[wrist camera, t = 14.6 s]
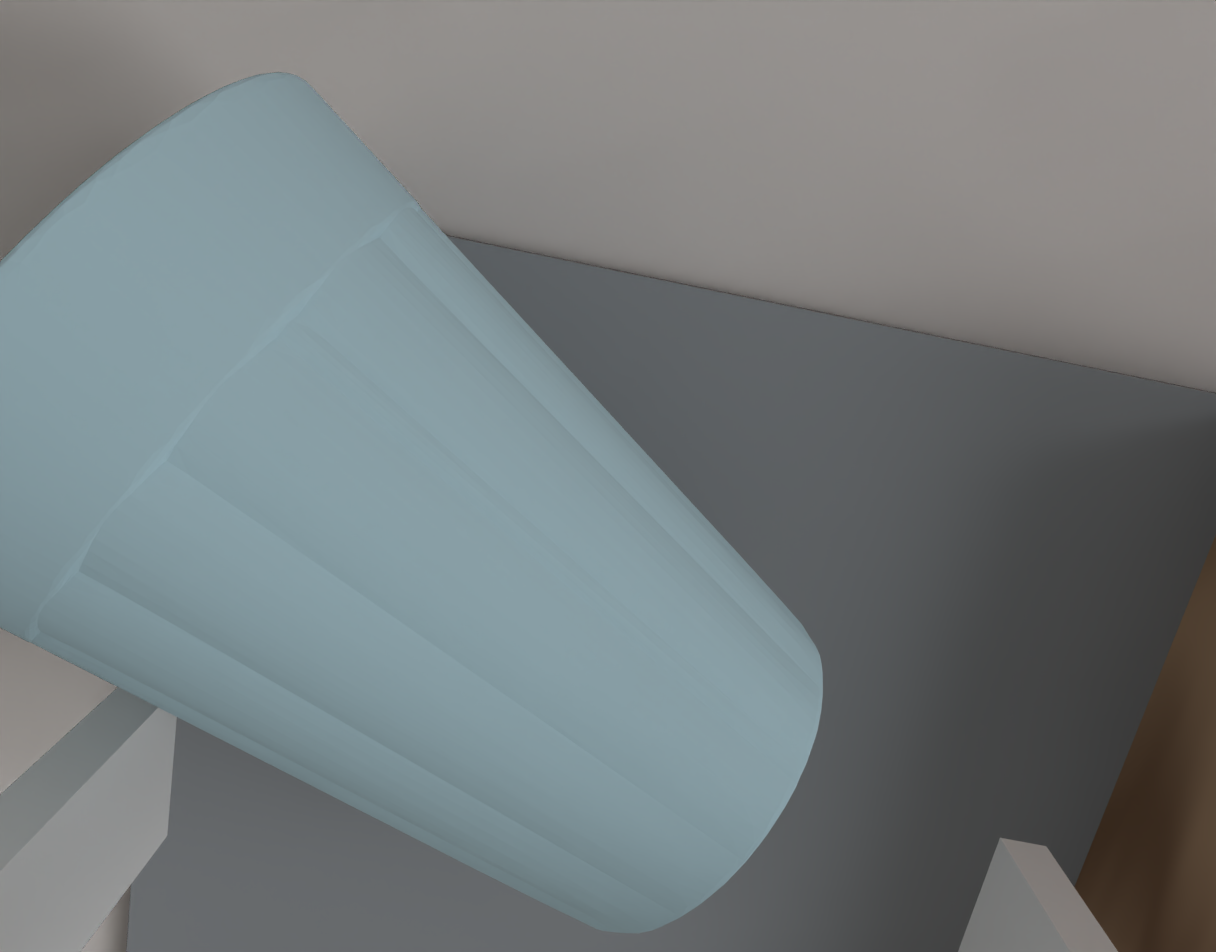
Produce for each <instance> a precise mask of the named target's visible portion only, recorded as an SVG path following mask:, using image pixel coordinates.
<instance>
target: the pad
mask: <svg viewBox="0 0 1216 952" xmlns="http://www.w3.org/2000/svg"><path fill="white" fill-rule="evenodd" d="M446 236H447V237H448V238H449V239H450V240H451V242H452V243H453V244H454V245H455V246H456V247H457V248H458V249H459V250H460V251H461V252H462V253H463V255H464V256H465V257H466V258H467V259H468V260H469V261H470V262H471V263H472V264H473V265H474V267H475V268H476V269H477V270H478V271H479V272H480V273H481V274H482V275H483V276H484V277H485V279H486V280H487V281H488V282H489V283H490V284H491V285H492V286H493V287H494V288H495V289H496V290H497V292H498V293H499V294H500V295H501V296H502V297H503V298H504V299H505V300H506V301H507V302H508V304H509V305H510V306H511V307H512V308H513V309H514V310H515V311H516V312H517V313H518V314H519V315H520V317H521V318H522V319H523V320H524V321H525V322H526V323H527V324H528V325H529V326H530V327H531V329H532V330H533V331H534V332H535V333H536V334H537V335H538V336H539V337H540V338H541V339H542V341H543V342H544V343H545V344H546V345H547V346H548V347H549V348H550V349H551V350H552V351H553V352H554V354H555V355H556V356H557V357H558V358H559V359H560V360H561V361H562V362H563V363H564V364H565V366H566V367H567V368H568V369H569V370H570V371H571V372H572V373H573V374H574V375H575V376H576V377H577V379H578V380H579V381H580V382H581V383H582V384H583V385H584V386H585V387H586V388H587V389H588V391H589V392H590V393H591V394H592V395H593V396H594V397H595V398H596V399H597V400H598V401H599V403H600V404H601V405H602V406H603V407H604V408H605V409H606V410H607V411H608V412H609V413H610V414H611V416H612V417H613V418H614V419H615V420H616V421H617V422H618V423H619V424H620V425H621V426H622V428H623V429H624V430H625V431H626V432H627V433H628V434H629V435H630V436H631V437H632V438H633V439H634V441H635V442H636V443H637V444H638V445H639V446H640V447H641V448H642V449H643V450H644V451H645V453H646V454H647V455H648V456H649V457H650V458H651V459H652V460H653V461H654V462H655V463H656V464H657V466H658V467H659V468H660V469H661V470H662V471H663V472H664V473H665V474H666V475H667V476H668V478H669V479H670V480H671V481H672V482H673V483H674V484H675V485H676V486H677V487H678V488H679V490H680V491H681V492H682V493H683V494H684V495H685V496H686V497H687V498H688V499H689V500H690V501H691V503H692V504H693V505H694V506H695V507H696V508H697V509H698V510H699V511H700V512H701V513H702V515H703V516H704V517H705V518H706V519H707V520H708V521H709V522H710V523H711V524H712V525H713V526H714V528H715V529H716V530H717V531H718V532H719V533H720V534H721V535H722V536H723V537H724V538H725V540H726V541H727V542H728V543H729V544H730V545H731V546H732V547H733V548H734V549H735V550H736V552H737V553H738V554H739V555H740V556H741V557H742V558H743V559H744V560H745V561H746V562H747V564H748V565H749V566H750V567H751V568H752V569H753V570H754V571H755V572H756V574H757V575H758V576H759V577H760V578H761V579H762V580H763V581H764V582H765V583H766V585H767V586H768V587H769V588H770V589H771V590H772V591H773V592H774V593H775V594H776V596H777V597H778V598H779V599H780V600H781V601H782V602H783V603H784V604H785V606H786V607H787V608H788V609H789V610H790V611H791V612H792V613H793V615H794V616H795V617H796V618H797V619H798V620H799V621H800V623H801V624H802V625H803V627H804V628H805V630H806V632H807V633H808V635H809V637H810V638H811V640H812V641H813V643H814V644H815V646H816V648H817V650H818V652H819V654H820V658H821V664H822V672H823V698H822V708H821V715H820V720H819V725H818V730H817V734H816V737H815V740H814V743H813V746H812V749H811V752H810V755H809V758H808V761H807V763H806V766H805V768H804V770H803V772H802V774H801V776H800V779H799V781H798V784H797V786H796V788H795V790H794V792H793V794H792V795H791V797H790V799H789V801H788V803H787V804H786V806H785V808H784V810H783V811H782V813H781V814H780V816H779V817H778V819H777V821H776V822H775V824H774V825H773V827H772V828H771V830H770V831H769V833H768V834H767V835H766V837H765V838H764V840H763V841H762V842H761V844H760V845H759V846H758V847H757V849H756V850H755V851H754V852H753V854H752V855H751V856H750V857H749V859H748V860H747V861H746V862H745V863H744V864H743V865H742V866H741V868H740V869H739V870H738V871H737V872H736V873H735V874H734V875H733V876H732V877H731V878H730V879H729V880H728V881H727V882H726V883H725V884H724V885H723V886H722V887H721V888H719V889H718V890H717V891H716V892H715V893H713V894H712V895H711V896H710V897H709V898H707V899H706V900H705V901H704V902H703V903H701V904H700V905H698V906H697V907H695V908H694V909H692V910H691V911H689V912H688V913H686V914H685V915H683V916H682V917H680V918H678V919H676V920H674V921H672V922H670V923H668V924H666V925H664V926H662V927H659V928H657V929H654V930H652V931H647V932H642V933H616V932H608V931H602V930H598V929H595V928H593V927H591V926H589V925H587V924H585V923H583V922H581V921H579V920H577V919H575V918H573V917H571V916H569V915H566V914H564V913H562V912H560V911H558V910H556V909H554V908H552V907H550V906H548V905H546V904H544V903H542V902H540V901H538V900H536V899H534V898H532V897H530V896H528V895H526V894H524V893H522V892H520V891H518V890H516V889H514V888H512V887H510V886H508V885H506V884H504V883H502V882H500V881H498V880H496V879H494V878H492V877H490V876H488V875H486V874H484V873H482V872H480V871H478V870H476V869H474V868H472V867H470V866H468V865H466V864H464V863H462V862H460V861H458V860H456V859H454V858H452V857H450V856H448V855H446V854H444V853H442V852H441V851H439V850H437V849H435V848H433V847H431V846H429V845H427V844H425V843H423V842H421V841H419V840H417V839H415V838H413V837H411V836H409V835H407V834H405V833H403V832H401V831H399V830H397V829H395V828H393V827H392V826H390V825H388V824H386V823H384V822H382V821H380V820H378V819H376V818H374V817H372V816H370V815H368V814H366V813H364V812H362V811H360V810H358V809H356V808H354V807H352V806H350V805H348V804H346V803H344V802H343V801H341V800H339V799H337V798H335V797H333V796H331V795H329V794H327V793H325V792H323V791H321V790H319V789H317V788H315V787H313V786H311V785H309V784H307V783H305V782H303V781H301V780H299V779H297V778H295V777H294V776H292V775H290V774H288V773H286V772H284V771H282V770H280V769H278V768H276V767H274V766H272V765H270V764H268V763H266V762H264V761H262V760H260V759H258V758H256V757H254V756H252V755H250V754H248V753H246V752H245V751H243V750H241V749H239V748H237V747H235V746H233V745H231V744H229V743H227V742H225V741H223V740H221V739H219V738H217V737H215V736H213V735H211V734H209V733H207V732H205V731H203V730H201V729H199V728H197V727H196V726H194V725H192V724H190V723H188V722H186V721H184V720H182V719H180V718H178V717H177V720H176V733H175V746H174V758H173V771H172V783H171V796H170V808H169V821H168V833H167V837H166V838H165V840H164V841H163V842H162V844H161V845H160V846H159V848H158V849H157V850H156V852H155V853H154V854H153V856H152V857H151V858H150V860H149V861H148V862H147V864H146V865H145V866H144V868H143V869H142V870H141V872H140V873H139V874H138V876H137V877H136V878H135V880H134V881H133V882H132V884H131V892H130V907H129V921H128V936H127V950H126V952H958V950H959V947H960V945H961V942H962V939H963V937H964V934H965V931H966V928H967V926H968V923H969V920H970V918H971V915H972V912H973V909H974V907H975V904H976V901H977V899H978V896H979V893H980V891H981V888H982V885H983V882H984V880H985V877H986V874H987V872H988V869H989V866H990V863H991V861H992V858H993V855H994V853H995V850H996V847H997V845H998V842H999V839H1000V838H1004V839H1010V840H1015V841H1021V842H1026V843H1031V844H1037V845H1042V846H1046V847H1047V848H1048V850H1049V851H1050V852H1051V854H1052V855H1053V857H1054V858H1055V860H1056V861H1057V863H1058V864H1059V866H1060V867H1061V869H1062V870H1063V872H1064V873H1065V874H1066V876H1067V877H1068V879H1069V880H1070V882H1071V883H1072V885H1073V886H1075V884H1076V882H1077V879H1078V877H1079V874H1080V872H1081V869H1082V867H1083V864H1084V862H1085V859H1086V857H1087V854H1088V852H1089V849H1090V847H1091V844H1092V842H1093V839H1094V837H1095V834H1096V832H1097V829H1098V827H1099V824H1100V822H1101V819H1102V817H1103V814H1104V812H1105V809H1106V807H1107V804H1108V802H1109V799H1110V797H1111V794H1112V792H1113V789H1114V787H1115V784H1116V782H1117V779H1118V777H1119V774H1120V772H1121V769H1122V767H1123V764H1124V762H1125V759H1126V757H1127V755H1128V752H1129V750H1130V747H1131V745H1132V742H1133V740H1134V737H1135V735H1136V732H1137V730H1138V727H1139V725H1140V722H1141V720H1142V717H1143V715H1144V712H1145V710H1146V707H1147V705H1148V702H1149V700H1150V697H1151V695H1152V692H1153V690H1154V687H1155V685H1156V682H1157V680H1158V677H1159V675H1160V672H1161V670H1162V667H1163V665H1164V662H1165V660H1166V657H1167V655H1168V652H1169V650H1170V647H1171V645H1172V642H1173V640H1174V637H1175V635H1176V633H1177V630H1178V628H1179V625H1180V623H1181V620H1182V618H1183V615H1184V613H1185V610H1186V608H1187V605H1188V603H1189V600H1190V598H1191V595H1192V593H1193V590H1194V588H1195V585H1196V583H1197V580H1198V578H1199V575H1200V573H1201V570H1202V568H1203V565H1204V563H1205V560H1206V558H1207V555H1208V553H1209V550H1210V548H1211V545H1212V543H1213V540H1214V538H1215V535H1216V393H1213V392H1208V391H1203V390H1199V389H1194V388H1189V387H1184V386H1179V385H1174V384H1169V383H1164V382H1159V381H1155V380H1150V379H1145V378H1140V377H1135V376H1130V375H1125V374H1120V373H1116V372H1111V371H1106V370H1101V369H1096V368H1091V367H1086V366H1081V365H1077V364H1072V363H1067V362H1062V361H1057V360H1052V359H1047V358H1042V357H1038V356H1033V355H1028V354H1023V353H1018V352H1013V351H1008V350H1003V349H999V348H994V347H989V346H984V345H979V344H974V343H969V342H964V341H960V340H955V339H950V338H945V337H940V336H935V335H930V334H925V333H921V332H916V331H911V330H906V329H901V328H896V327H891V326H886V325H882V324H877V323H872V322H867V321H862V320H857V319H852V318H847V317H843V316H838V315H833V314H828V313H823V312H818V311H813V310H808V309H804V308H799V307H794V306H789V305H784V304H779V303H774V302H769V301H765V300H760V299H755V298H750V297H745V296H740V295H735V294H730V293H726V292H721V291H716V290H711V289H706V288H701V287H696V286H691V285H687V284H682V283H677V282H672V281H667V280H662V279H657V278H652V277H648V276H643V275H638V274H633V273H628V272H623V271H618V270H613V269H609V268H604V267H599V266H594V265H589V264H584V263H579V262H574V261H570V260H565V259H560V258H555V257H550V256H545V255H540V254H535V253H531V252H526V251H521V250H516V249H511V248H506V247H501V246H496V245H491V244H487V243H482V242H477V241H472V240H467V239H462V238H457V237H452V236H448V235H446Z"/></svg>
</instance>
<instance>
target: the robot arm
mask: <svg viewBox="0 0 1216 952" xmlns="http://www.w3.org/2000/svg"><path fill="white" fill-rule="evenodd" d="M176 720H177V717H176V716H174V715H172V714H170V713H168V712H166V711H164V710H162V709H160V708H158V707H156V706H154V705H152V704H150V703H148V702H147V701H145V700H143V699H141V698H139V697H137V696H135V695H133V694H131V693H129V692H127V691H125V690H123V689H121V688H119V687H118V688H117V689H116V690H114V691H113V692H112V693H111V694H110V695H109V696H108V697H107V698H106V699H105V700H103V701H102V702H101V703H100V704H99V705H98V706H97V707H96V708H95V709H94V710H93V711H91V712H90V713H89V714H88V715H87V716H86V717H85V718H84V719H83V720H82V721H80V722H79V723H78V724H77V725H76V726H75V727H74V728H73V729H72V730H71V731H70V732H68V733H67V734H66V735H65V736H64V737H63V738H62V739H61V740H60V741H59V742H57V743H56V744H55V745H54V746H53V747H52V748H51V749H50V750H49V751H48V752H46V753H45V754H44V755H43V756H42V757H41V758H40V759H39V760H38V761H37V762H36V763H34V764H33V765H32V766H31V767H30V768H29V769H28V770H27V771H26V772H25V773H23V774H22V775H21V776H20V777H19V778H18V779H17V780H16V781H15V782H14V783H13V784H11V785H10V786H9V787H8V788H7V789H6V790H5V791H4V792H3V793H2V794H0V952H81V950H82V949H83V948H84V946H85V945H86V944H87V942H88V941H89V940H90V938H91V937H92V936H93V934H94V933H95V932H96V930H97V929H98V928H99V926H100V925H101V924H102V922H103V921H104V920H105V918H106V917H107V916H108V914H109V913H110V912H111V910H112V909H113V908H114V906H115V905H116V904H117V902H118V901H119V900H120V898H121V897H122V896H123V894H124V893H125V892H126V890H127V889H128V888H129V886H130V885H131V884H132V882H133V881H134V880H135V878H136V877H137V876H138V874H139V873H140V872H141V870H142V869H143V868H144V866H145V865H146V864H147V862H148V861H149V860H150V858H151V857H152V856H153V854H154V853H155V852H156V850H157V849H158V848H159V846H160V845H161V844H162V842H163V841H164V840H165V838H166V837H167V833H168V821H169V808H170V796H171V783H172V771H173V758H174V746H175V733H176ZM958 952H1118V951H1117V949H1116V948H1115V946H1114V945H1113V944H1112V942H1111V941H1110V939H1109V938H1108V936H1107V935H1106V933H1105V932H1104V930H1103V929H1102V927H1101V926H1100V924H1099V923H1098V921H1097V920H1096V919H1095V917H1094V916H1093V914H1092V913H1091V911H1090V910H1089V908H1088V907H1087V905H1086V904H1085V902H1084V901H1083V899H1082V898H1081V897H1080V895H1079V894H1078V892H1077V891H1076V889H1075V888H1074V886H1073V885H1072V883H1071V882H1070V880H1069V879H1068V877H1067V876H1066V874H1065V873H1064V872H1063V870H1062V869H1061V867H1060V866H1059V864H1058V863H1057V861H1056V860H1055V858H1054V857H1053V855H1052V854H1051V852H1050V851H1049V850H1048V848H1047V847H1046V846H1042V845H1037V844H1031V843H1026V842H1021V841H1015V840H1010V839H1004V838H1000V839H999V842H998V845H997V847H996V850H995V853H994V855H993V858H992V861H991V863H990V866H989V869H988V872H987V874H986V877H985V880H984V882H983V885H982V888H981V891H980V893H979V896H978V899H977V901H976V904H975V907H974V909H973V912H972V915H971V918H970V920H969V923H968V926H967V928H966V931H965V934H964V937H963V939H962V942H961V945H960V947H959V950H958Z"/></svg>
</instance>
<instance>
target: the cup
mask: <svg viewBox="0 0 1216 952" xmlns="http://www.w3.org/2000/svg"><path fill="white" fill-rule="evenodd" d="M0 628H2V629H4V630H6V631H8V632H10V633H12V634H14V635H16V636H18V637H20V638H22V639H24V640H26V641H28V642H31V643H33V644H35V645H37V646H39V647H41V648H43V649H45V650H47V651H48V652H50V653H52V654H54V655H56V656H58V657H60V658H62V659H64V660H66V661H68V662H70V663H72V664H74V665H76V666H78V667H80V668H82V669H84V670H86V671H88V672H90V673H92V674H94V675H96V676H97V677H99V678H101V679H103V680H105V681H107V682H109V683H111V684H113V685H115V686H117V687H119V688H121V689H123V690H125V691H127V692H129V693H131V694H133V695H135V696H137V697H139V698H141V699H143V700H145V701H147V702H148V703H150V704H152V705H154V706H156V707H158V708H160V709H162V710H164V711H166V712H168V713H170V714H172V715H174V716H176V717H178V718H180V719H182V720H184V721H186V722H188V723H190V724H192V725H194V726H196V727H197V728H199V729H201V730H203V731H205V732H207V733H209V734H211V735H213V736H215V737H217V738H219V739H221V740H223V741H225V742H227V743H229V744H231V745H233V746H235V747H237V748H239V749H241V750H243V751H245V752H246V753H248V754H250V755H252V756H254V757H256V758H258V759H260V760H262V761H264V762H266V763H268V764H270V765H272V766H274V767H276V768H278V769H280V770H282V771H284V772H286V773H288V774H290V775H292V776H294V777H295V778H297V779H299V780H301V781H303V782H305V783H307V784H309V785H311V786H313V787H315V788H317V789H319V790H321V791H323V792H325V793H327V794H329V795H331V796H333V797H335V798H337V799H339V800H341V801H343V802H344V803H346V804H348V805H350V806H352V807H354V808H356V809H358V810H360V811H362V812H364V813H366V814H368V815H370V816H372V817H374V818H376V819H378V820H380V821H382V822H384V823H386V824H388V825H390V826H392V827H393V828H395V829H397V830H399V831H401V832H403V833H405V834H407V835H409V836H411V837H413V838H415V839H417V840H419V841H421V842H423V843H425V844H427V845H429V846H431V847H433V848H435V849H437V850H439V851H441V852H442V853H444V854H446V855H448V856H450V857H452V858H454V859H456V860H458V861H460V862H462V863H464V864H466V865H468V866H470V867H472V868H474V869H476V870H478V871H480V872H482V873H484V874H486V875H488V876H490V877H492V878H494V879H496V880H498V881H500V882H502V883H504V884H506V885H508V886H510V887H512V888H514V889H516V890H518V891H520V892H522V893H524V894H526V895H528V896H530V897H532V898H534V899H536V900H538V901H540V902H542V903H544V904H546V905H548V906H550V907H552V908H554V909H556V910H558V911H560V912H562V913H564V914H566V915H569V916H571V917H573V918H575V919H577V920H579V921H581V922H583V923H585V924H587V925H589V926H591V927H593V928H595V929H598V930H602V931H608V932H616V933H642V932H647V931H652V930H654V929H657V928H659V927H662V926H664V925H666V924H668V923H670V922H672V921H674V920H676V919H678V918H680V917H682V916H683V915H685V914H686V913H688V912H689V911H691V910H692V909H694V908H695V907H697V906H698V905H700V904H701V903H703V902H704V901H705V900H706V899H707V898H709V897H710V896H711V895H712V894H713V893H715V892H716V891H717V890H718V889H719V888H721V887H722V886H723V885H724V884H725V883H726V882H727V881H728V880H729V879H730V878H731V877H732V876H733V875H734V874H735V873H736V872H737V871H738V870H739V869H740V868H741V866H742V865H743V864H744V863H745V862H746V861H747V860H748V859H749V857H750V856H751V855H752V854H753V852H754V851H755V850H756V849H757V847H758V846H759V845H760V844H761V842H762V841H763V840H764V838H765V837H766V835H767V834H768V833H769V831H770V830H771V828H772V827H773V825H774V824H775V822H776V821H777V819H778V817H779V816H780V814H781V813H782V811H783V810H784V808H785V806H786V804H787V803H788V801H789V799H790V797H791V795H792V794H793V792H794V790H795V788H796V786H797V784H798V781H799V779H800V776H801V774H802V772H803V770H804V768H805V766H806V763H807V761H808V758H809V755H810V752H811V749H812V746H813V743H814V740H815V737H816V734H817V730H818V725H819V720H820V715H821V708H822V698H823V672H822V664H821V658H820V654H819V652H818V650H817V648H816V646H815V644H814V643H813V641H812V640H811V638H810V637H809V635H808V633H807V632H806V630H805V628H804V627H803V625H802V624H801V623H800V621H799V620H798V619H797V618H796V617H795V616H794V615H793V613H792V612H791V611H790V610H789V609H788V608H787V607H786V606H785V604H784V603H783V602H782V601H781V600H780V599H779V598H778V597H777V596H776V594H775V593H774V592H773V591H772V590H771V589H770V588H769V587H768V586H767V585H766V583H765V582H764V581H763V580H762V579H761V578H760V577H759V576H758V575H757V574H756V572H755V571H754V570H753V569H752V568H751V567H750V566H749V565H748V564H747V562H746V561H745V560H744V559H743V558H742V557H741V556H740V555H739V554H738V553H737V552H736V550H735V549H734V548H733V547H732V546H731V545H730V544H729V543H728V542H727V541H726V540H725V538H724V537H723V536H722V535H721V534H720V533H719V532H718V531H717V530H716V529H715V528H714V526H713V525H712V524H711V523H710V522H709V521H708V520H707V519H706V518H705V517H704V516H703V515H702V513H701V512H700V511H699V510H698V509H697V508H696V507H695V506H694V505H693V504H692V503H691V501H690V500H689V499H688V498H687V497H686V496H685V495H684V494H683V493H682V492H681V491H680V490H679V488H678V487H677V486H676V485H675V484H674V483H673V482H672V481H671V480H670V479H669V478H668V476H667V475H666V474H665V473H664V472H663V471H662V470H661V469H660V468H659V467H658V466H657V464H656V463H655V462H654V461H653V460H652V459H651V458H650V457H649V456H648V455H647V454H646V453H645V451H644V450H643V449H642V448H641V447H640V446H639V445H638V444H637V443H636V442H635V441H634V439H633V438H632V437H631V436H630V435H629V434H628V433H627V432H626V431H625V430H624V429H623V428H622V426H621V425H620V424H619V423H618V422H617V421H616V420H615V419H614V418H613V417H612V416H611V414H610V413H609V412H608V411H607V410H606V409H605V408H604V407H603V406H602V405H601V404H600V403H599V401H598V400H597V399H596V398H595V397H594V396H593V395H592V394H591V393H590V392H589V391H588V389H587V388H586V387H585V386H584V385H583V384H582V383H581V382H580V381H579V380H578V379H577V377H576V376H575V375H574V374H573V373H572V372H571V371H570V370H569V369H568V368H567V367H566V366H565V364H564V363H563V362H562V361H561V360H560V359H559V358H558V357H557V356H556V355H555V354H554V352H553V351H552V350H551V349H550V348H549V347H548V346H547V345H546V344H545V343H544V342H543V341H542V339H541V338H540V337H539V336H538V335H537V334H536V333H535V332H534V331H533V330H532V329H531V327H530V326H529V325H528V324H527V323H526V322H525V321H524V320H523V319H522V318H521V317H520V315H519V314H518V313H517V312H516V311H515V310H514V309H513V308H512V307H511V306H510V305H509V304H508V302H507V301H506V300H505V299H504V298H503V297H502V296H501V295H500V294H499V293H498V292H497V290H496V289H495V288H494V287H493V286H492V285H491V284H490V283H489V282H488V281H487V280H486V279H485V277H484V276H483V275H482V274H481V273H480V272H479V271H478V270H477V269H476V268H475V267H474V265H473V264H472V263H471V262H470V261H469V260H468V259H467V258H466V257H465V256H464V255H463V253H462V252H461V251H460V250H459V249H458V248H457V247H456V246H455V245H454V244H453V243H452V242H451V240H450V239H449V238H448V237H447V236H446V235H445V234H444V233H443V232H442V231H441V230H440V228H439V227H438V226H437V225H436V224H435V223H434V222H433V221H432V220H431V219H430V218H429V217H428V215H427V214H426V213H425V212H424V211H423V210H422V209H421V208H420V206H419V204H418V203H417V202H416V200H415V199H414V198H413V197H412V196H411V195H410V194H409V193H408V192H407V191H406V189H405V188H404V187H403V186H402V185H401V184H400V183H399V182H398V181H397V180H396V178H395V177H394V176H393V175H392V174H391V173H390V172H389V171H388V170H387V169H386V168H385V166H384V165H383V164H382V163H381V162H380V161H379V160H378V159H377V158H376V157H375V156H374V154H373V153H372V152H371V151H370V150H369V149H368V148H367V147H366V146H365V145H364V144H363V142H362V141H361V140H360V139H359V138H358V137H357V136H356V135H355V134H354V133H353V131H352V130H351V129H350V128H349V127H348V126H347V125H346V124H345V123H344V122H343V121H342V119H341V118H340V117H339V116H338V115H337V114H336V113H335V112H334V111H333V110H332V109H331V107H330V106H329V105H328V104H327V103H326V102H325V101H324V100H323V99H322V98H321V97H320V95H319V94H318V93H317V92H316V91H315V90H314V89H313V88H312V87H311V86H310V85H309V84H308V83H307V82H306V81H305V80H303V79H302V78H300V77H298V76H296V75H293V74H289V73H281V72H276V73H267V74H259V75H255V76H252V77H248V78H245V79H242V80H240V81H237V82H235V83H232V84H229V85H227V86H224V87H222V88H220V89H218V90H216V91H214V92H212V93H210V94H208V95H206V96H204V97H203V98H201V99H199V100H197V101H196V102H194V103H192V104H190V105H188V106H187V107H185V108H183V109H182V110H180V111H179V112H177V113H176V114H174V115H172V116H171V117H169V118H168V119H166V120H165V121H163V122H161V123H160V124H158V125H157V126H155V127H154V128H152V129H151V130H150V131H148V132H147V133H146V134H144V135H143V136H142V137H140V138H139V139H138V140H136V141H135V142H133V143H132V144H131V145H129V146H128V147H127V148H125V149H124V150H123V151H121V152H120V153H118V154H117V155H116V156H114V157H113V158H112V159H111V160H110V161H108V162H107V163H106V164H105V165H104V166H102V167H101V168H100V169H99V170H97V171H96V172H95V173H94V174H93V175H91V176H90V177H89V178H88V179H87V180H86V181H84V182H83V183H82V184H81V185H80V186H79V187H78V188H76V189H75V190H74V191H73V192H72V193H71V194H70V195H69V196H67V197H66V198H65V199H64V200H63V201H62V202H61V203H60V204H59V205H58V206H57V207H55V208H54V209H53V210H52V211H51V212H50V213H49V214H48V215H47V216H46V217H45V218H44V219H43V220H42V221H41V222H40V223H39V224H38V225H37V226H36V227H34V228H33V229H32V230H31V231H30V232H29V233H28V234H27V235H26V236H25V237H24V238H23V239H22V240H21V241H20V242H19V243H18V244H17V245H16V246H15V247H14V248H13V249H12V250H11V251H10V252H9V253H8V254H7V255H6V256H5V257H4V258H3V259H2V260H1V261H0Z"/></svg>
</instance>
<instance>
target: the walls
mask: <svg viewBox="0 0 1216 952" xmlns="http://www.w3.org/2000/svg"><path fill="white" fill-rule="evenodd" d="M1074 888H1075V889H1076V891H1077V892H1078V894H1079V895H1080V897H1081V898H1082V899H1083V901H1084V902H1085V904H1086V905H1087V907H1088V908H1089V910H1090V911H1091V913H1092V914H1093V916H1094V917H1095V919H1096V920H1097V921H1098V923H1099V924H1100V926H1101V927H1102V929H1103V930H1104V932H1105V933H1106V935H1107V936H1108V938H1109V939H1110V941H1111V942H1112V944H1113V945H1114V946H1115V948H1116V949H1117V951H1118V952H1216V535H1215V538H1214V540H1213V543H1212V545H1211V548H1210V550H1209V553H1208V555H1207V558H1206V560H1205V563H1204V565H1203V568H1202V570H1201V573H1200V575H1199V578H1198V580H1197V583H1196V585H1195V588H1194V590H1193V593H1192V595H1191V598H1190V600H1189V603H1188V605H1187V608H1186V610H1185V613H1184V615H1183V618H1182V620H1181V623H1180V625H1179V628H1178V630H1177V633H1176V635H1175V637H1174V640H1173V642H1172V645H1171V647H1170V650H1169V652H1168V655H1167V657H1166V660H1165V662H1164V665H1163V667H1162V670H1161V672H1160V675H1159V677H1158V680H1157V682H1156V685H1155V687H1154V690H1153V692H1152V695H1151V697H1150V700H1149V702H1148V705H1147V707H1146V710H1145V712H1144V715H1143V717H1142V720H1141V722H1140V725H1139V727H1138V730H1137V732H1136V735H1135V737H1134V740H1133V742H1132V745H1131V747H1130V750H1129V752H1128V755H1127V757H1126V759H1125V762H1124V764H1123V767H1122V769H1121V772H1120V774H1119V777H1118V779H1117V782H1116V784H1115V787H1114V789H1113V792H1112V794H1111V797H1110V799H1109V802H1108V804H1107V807H1106V809H1105V812H1104V814H1103V817H1102V819H1101V822H1100V824H1099V827H1098V829H1097V832H1096V834H1095V837H1094V839H1093V842H1092V844H1091V847H1090V849H1089V852H1088V854H1087V857H1086V859H1085V862H1084V864H1083V867H1082V869H1081V872H1080V874H1079V877H1078V879H1077V882H1076V884H1075V886H1074Z"/></svg>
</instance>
